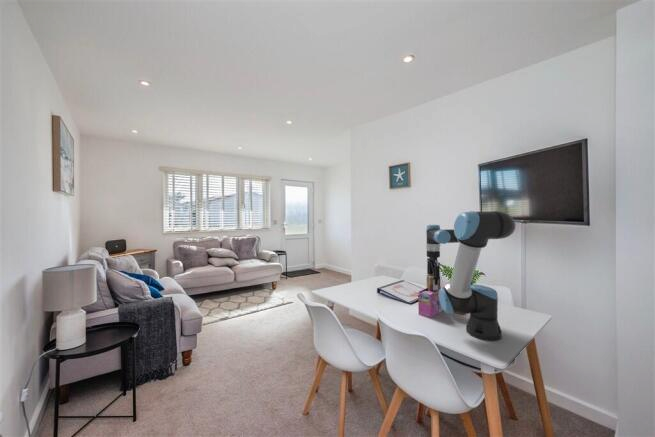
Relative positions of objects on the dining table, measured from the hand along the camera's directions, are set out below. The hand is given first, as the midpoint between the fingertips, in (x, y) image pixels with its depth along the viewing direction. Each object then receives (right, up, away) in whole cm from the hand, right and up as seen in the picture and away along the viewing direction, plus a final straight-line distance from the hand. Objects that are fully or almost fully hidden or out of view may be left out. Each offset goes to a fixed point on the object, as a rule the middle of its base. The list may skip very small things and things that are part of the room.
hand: (433, 288), depth 162 cm
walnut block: (0, 0, 0) cm, 0 cm away
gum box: (0, -14, 0) cm, 14 cm away
